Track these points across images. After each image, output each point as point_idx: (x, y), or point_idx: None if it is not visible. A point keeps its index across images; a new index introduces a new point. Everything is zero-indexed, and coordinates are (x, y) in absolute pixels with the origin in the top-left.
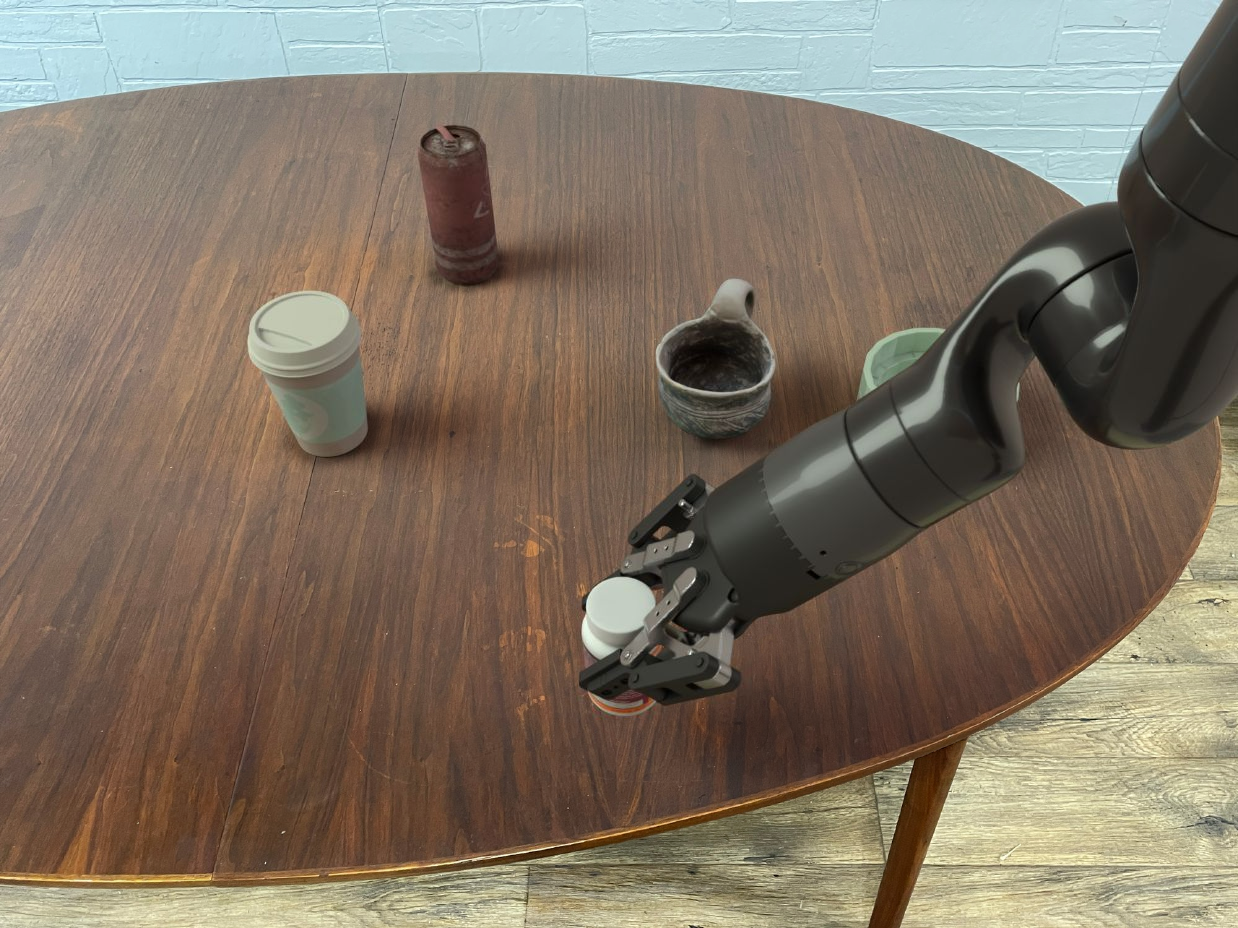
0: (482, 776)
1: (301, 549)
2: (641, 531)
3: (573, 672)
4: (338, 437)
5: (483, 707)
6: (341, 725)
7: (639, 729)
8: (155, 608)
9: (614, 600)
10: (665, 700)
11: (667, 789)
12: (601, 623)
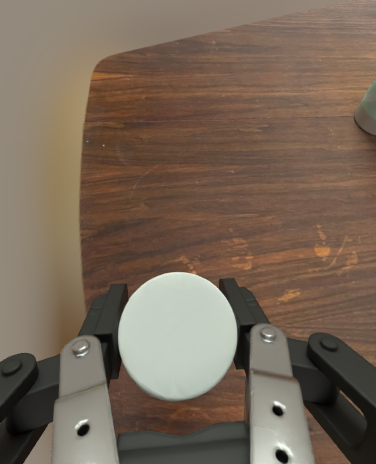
0: (132, 239)
1: (283, 121)
2: (339, 360)
3: None
4: (372, 114)
5: (183, 234)
6: (167, 159)
7: None
8: (231, 72)
9: (186, 317)
10: (2, 424)
11: (116, 381)
12: (137, 298)
